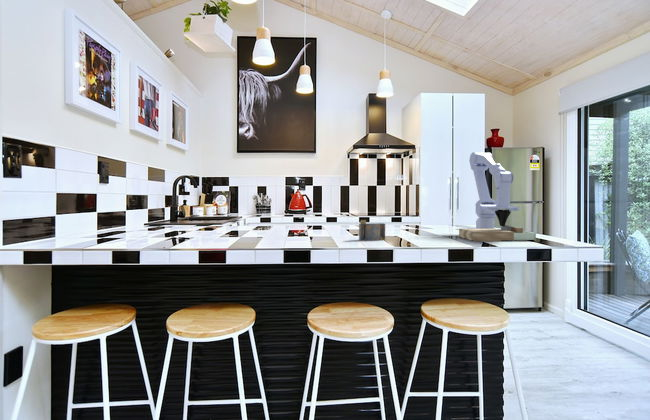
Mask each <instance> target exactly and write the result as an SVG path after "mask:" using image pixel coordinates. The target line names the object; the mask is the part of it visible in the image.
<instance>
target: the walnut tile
mask: <svg viewBox="0 0 650 420" xmlns="http://www.w3.org/2000/svg"><path fill="white" fill-rule="evenodd" d="M511 231H512V232H514V233H523V231H524V228H523V227H520V226H519V227H518V226H511Z"/></svg>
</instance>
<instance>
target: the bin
mask: <svg viewBox="0 0 650 420" xmlns="http://www.w3.org/2000/svg"><path fill="white" fill-rule="evenodd" d="M514 240H534V241H533V242H536V241H537V233H536V232H533V231H532V232H531V231H525V230H523V233H514Z"/></svg>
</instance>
